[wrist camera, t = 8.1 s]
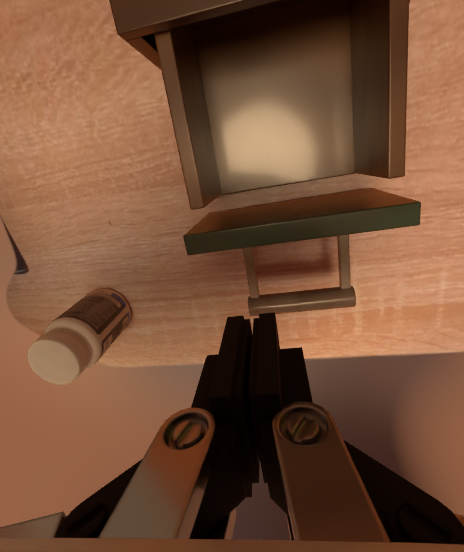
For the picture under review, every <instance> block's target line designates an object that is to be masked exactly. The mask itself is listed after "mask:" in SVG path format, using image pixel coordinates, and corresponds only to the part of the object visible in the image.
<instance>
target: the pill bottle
mask: <svg viewBox="0 0 464 552" xmlns="http://www.w3.org/2000/svg"><path fill="white" fill-rule="evenodd" d="M130 319H131V311H130V307H129V305H128V303H127V301H126V300H125V299H124V297H123V296H121V295H120V294H119V293H117V292H115V291H113V290H110V289H97V290H95V291H93V292H91V293H89V294H88V295H87V296H85V297H84V298H83V299H81V300H80V301H79V302H78V303H76V304H75V305H74V306H72V307H71V308H70V309H68V310H67V311H66V312H65V313H63V314H62V315H60V316H59V317H58V318H56V319H55V320H53V321H52V322H51V323H50V324H49V325H48V326H47V328H46V330H45V332H44V334H43V335H42V336H41V337H40V338H38V339H37V340H36V341H35V342H34V343H33V344H32V345H31V346H30V347H29V349H28V353H27V358H28V363H29V365H30V367H31V369H32V370H33V371H34V372H35V373H36V374H37V375H38V376H39V377H40V378H42V379H43V380H45V381H47V382H50V383H53V384H59V385H63V384H68V383H71V382H72V381H74V380H75V379H76V378H77V377H78V376H79V375H80V374H81V373H82V372H83V370H84V369H86V368H89V367H91V366H92V365H94V364H95V363H96V362H97V361H98V360H99V359H100V358H101V356H102V355H103V354H104V353H105V351H106V350H107V349H108V348H109V347H110V345H111V344H112V343H113V342H114V341H115V339H116V338H117V337H118V336H119V335H120V334H121V332H122V331H123V330H124V329H125V328H126V326H127V325H128V324H129V322H130Z"/></svg>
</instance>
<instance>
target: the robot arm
mask: <svg viewBox="0 0 464 552" xmlns="http://www.w3.org/2000/svg"><path fill="white" fill-rule="evenodd" d="M259 461H260V462H261V468H262V473H263V478H264V482H265V483H268V487H269V493H270V498H271V499H272V500H273V501H274V502H275V503H276V504H277V505H278V506H279V507H280V508H281V509H282V510H283V511H284V512H285V513H286V516H287V522H288V527H289V532H290V538H291V540H231V539H232V535H233V530H234V525H235V521H236V509H235V508H236V507H237V506H238V505H239V504H240V503H241V502H242V501H243V500H244V499H245V498H246V497H252V483H259ZM0 552H464V516H463V515H458V514H453V512H452V511H451V510H449V509H448V508H447V507H446V506H444V505H443V504H442V503H441V502H439V501H438V500H437V499H435V498H433V497H432V496H430V495H429V494H427V493H425V492H424V491H423V490H421V489H419V488H418V487H416V486H415V485H413V484H412V483H410V482H408V481H407V480H405V479H404V478H402V477H401V476H399V475H398V474H396V473H394V472H393V471H391V470H390V469H388V468H387V467H385V466H383V465H382V464H380V463H379V462H377V461H376V460H374V459H373V458H371V457H369V456H368V455H366V454H365V453H363V452H362V451H360V450H358V449H357V448H355V447H354V446H352V445H350V444H349V443H348V442H346V441H344V440H343V438H342V436H341V434H340V432H339V430H338V428H337V426H336V423H335V421H334V419H333V418H332V416H331V415H330V413H329V412H328V411H327V410H325V409H324V408H323V407H321V406H319V405H317V404H314V403H313V402H312V397H311V392H310V387H309V381H308V377H307V371H306V366H305V361H304V356H303V350H302V347H301V348H289V349H280V346H279V338H278V331H277V323H276V316H275V312H273V313H263V314H259V318H254V322H253V336H252V330H251V324H250V319H244V317H243V316H234V317H228V318H227V321H226V325H225V329H224V334H223V338H222V342H221V346H220V350H219V354H217V355H208V356H207V357H206V360H205V363H204V367H203V370H202V373H201V377H200V380H199V383H198V387H197V390H196V393H195V397H194V400H193V403H192V406H191V408H187V409H184V410H180V411H179V412H177V413H175V414H173V415H171V416H170V417H169V418H168V419H167V420H166V421H165V422H164V423H163V425H162V426H161V427H160V429H159V431H158V433H157V435H156V436H155V438H154V440H153V442H152V443H151V445H150V447H149V449H148V450H147V452H146V454H145V456H144V458H143V459H142V460H141V461H139V462H138V463H136V464H135V465H133V466H132V467H131V468H129V469H128V470H126V471H125V472H124V473H122V474H121V475H119V476H118V477H117V478H115V479H114V480H113V481H111V482H110V483H108V484H107V485H106V486H104V487H103V488H101V489H100V490H98V491H97V492H96V493H94V494H93V495H91V496H90V497H89V498H87V499H86V500H85V501H83V502H82V503H81V504H79V505H78V506H77V507H76V508H75V509H74V510H72V511H71V513H70V514H69V515H68V516H66V515H65V514H64V512H60V513H55V514H52V515H48V516H44V517H40V518H36V519H32V520H28V521H24V522H20V523H17V524H12V525H8V526H4V527H1V528H0Z"/></svg>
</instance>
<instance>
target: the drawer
mask: <svg viewBox="0 0 464 552" xmlns="http://www.w3.org/2000/svg"><path fill="white" fill-rule="evenodd" d="M408 21H409V0H278V1H274V2H271V3H267V4H263V5H259V6H255V7H252V8H248V9H244V10H240V11H236V12H233V13H229V14H225V15H221V16H217V17H214V18H210V19H206V20H202V21H198V22H195V23H191V24H187V25H183V26H179V27H176V28H172V29H168V30H164V31H160V32H157V33H154V36H155V41H156V46H157V51H158V56H159V60H160V65H161V70H162V75H163V79H164V84H165V89H166V94H167V98H168V103H169V108H170V113H171V117H172V122H173V127H174V132H175V137H176V141H177V146H178V151H179V156H180V160H181V165H182V170H183V175H184V179H185V184H186V189H187V194H188V199H189V203H190V208H191V209H192V210H193V209H199V208H204V207H205V206H207V205H208V204H209V203H211V202H212V201H214V200H215V199H216V198H218V197H219V196H220V195H224V194H230V193H236V192H242V191H248V190H254V189H261V188H267V187H273V186H279V185H285V184H291V183H298V182H304V181H310V180H316V179H322V178H328V177H335V176H341V175H347V174H353V173H358V174H364V175H370V176H376V177H382V178H388V179H391V178H397V177H403V176H404V175H405V144H406V103H407V62H408ZM420 209H421V203H420V202H419V201H415V200H412V199H408V198H405V197H401V196H398V195H394V194H391V193H387V192H384V191H380V190H377V189H373V188H369V189H362V190H356V191H349V192H343V193H336V194H329V195H323V196H316V197H310V198H303V199H297V200H290V201H284V202H277V203H271V204H264V205H258V206H251V207H245V208H238V209H232V210H225V211H218V212H212V213H209V214H208V215H206V216H205V217H204V218H203V219H202V220H201V221H200V222H198V223H197V224H196V225H195V226H194V227H193V228H192V229H190V230H189V231H188V232H187V233H186V234H185V235H184V236H183V237H184V242H185V246H186V251H187V254H188V255H194V254H202V253H210V252H217V251H225V250H233V249H240V248H243V253H244V260H245V266H246V272H247V278H248V285H249V291H250V296H249V297H248V307H249V313H250V316H258V315H259V314H263V313H273V312H275V314H279V313H290V312H301V311H312V310H323V309H333V308H344V307H354V306H355V305H356V296H355V291H354V288H353V286H351V281H350V255H349V234H355V233H363V232H370V231H378V230H386V229H393V228H401V227H409V226H416V225H420ZM332 236H337V242H338V262H339V282H340V287H333V288H324V289H314V290H304V291H295V292H285V293H275V294H266V295H259V287H258V281H257V274H256V267H255V260H254V254H253V247H256V246H263V245H271V244H279V243H286V242H294V241H302V240H309V239H317V238H324V237H332Z"/></svg>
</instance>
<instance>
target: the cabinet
mask: <svg viewBox="0 0 464 552" xmlns="http://www.w3.org/2000/svg"><path fill="white" fill-rule="evenodd" d="M109 1H110V5H111V9H112V13H113V17H114V21H115V26H116V30H117V34H118V35H119V36H120V37H122V38H123V39H124V40H126V42H128V43H129V44H130V45H131V46H132V47H134V48H135V49H136V50H137V51H139V52H140V53H141V54H142V55H143V56H145V57H146V58H147V59H148V60H150V61H151V62H152V63H153V64H155V65H156V66H157V67H158V68H159V69H161V65H160V60H159V56H158V51H157V46H156V41H155V36H154V33H157V32H160V31H164V30H168V29H172V28H176V27H179V26H183V25H187V24H191V23H195V22H198V21H202V20H206V19H210V18H214V17H217V16H221V15H225V14H229V13H233V12H236V11H240V10H244V9H248V8H252V7H255V6H259V5H263V4H267V3H271V2H274V1H278V0H109ZM409 1H410V0H409Z"/></svg>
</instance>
